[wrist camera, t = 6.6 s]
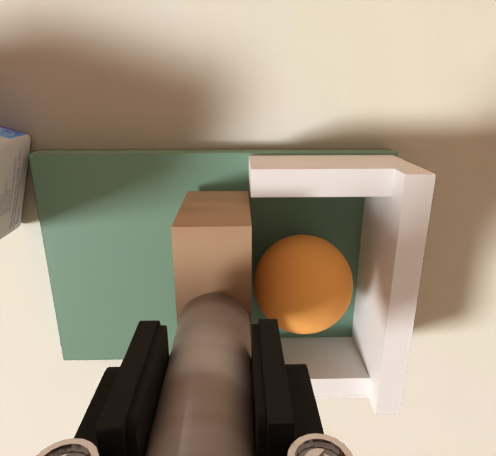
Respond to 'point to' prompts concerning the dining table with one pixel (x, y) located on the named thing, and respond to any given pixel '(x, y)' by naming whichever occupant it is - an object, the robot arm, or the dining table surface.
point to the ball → (303, 284)
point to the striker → (209, 332)
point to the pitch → (263, 236)
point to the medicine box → (12, 177)
